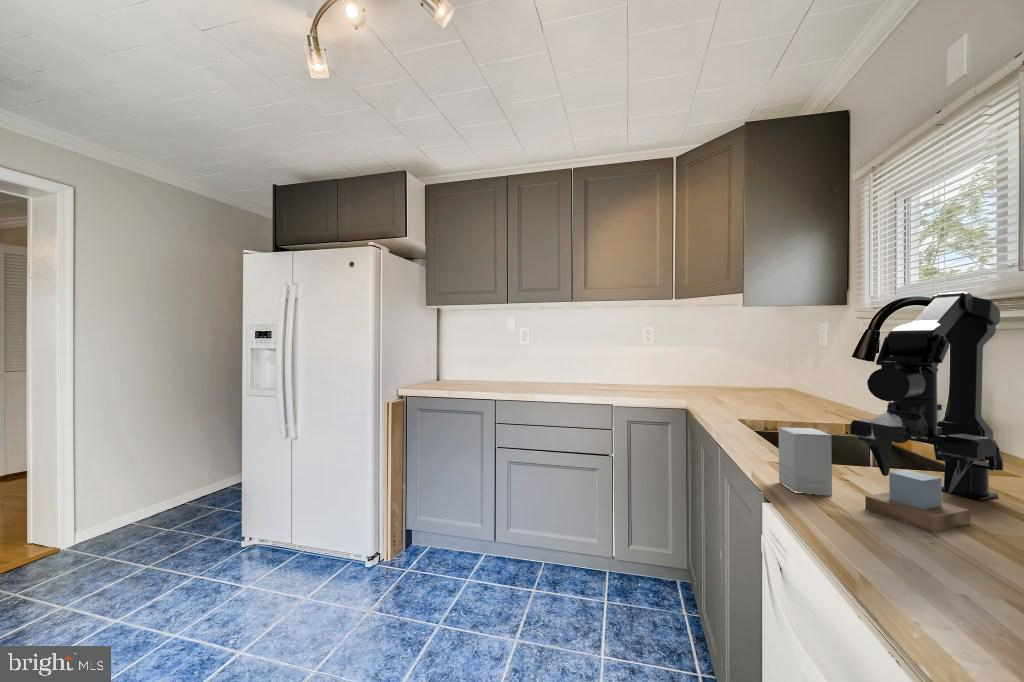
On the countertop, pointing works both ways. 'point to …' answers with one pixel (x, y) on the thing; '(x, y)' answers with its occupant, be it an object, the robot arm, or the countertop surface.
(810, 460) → the supplement box
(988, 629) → the countertop surface
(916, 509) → the walnut slab
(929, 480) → the slate block
